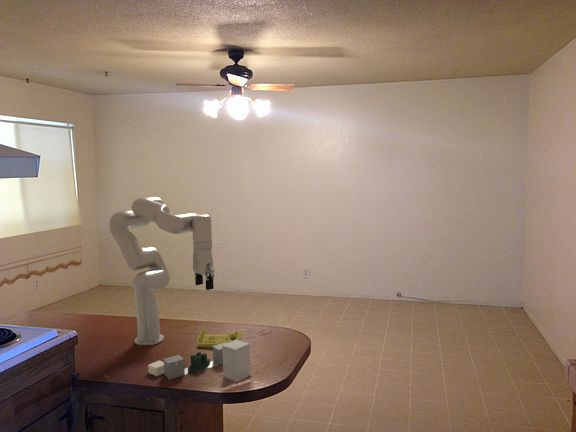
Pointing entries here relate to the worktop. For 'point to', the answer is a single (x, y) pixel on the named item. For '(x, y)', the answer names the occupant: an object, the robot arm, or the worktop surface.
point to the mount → (198, 362)
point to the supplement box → (236, 360)
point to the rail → (204, 368)
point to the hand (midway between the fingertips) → (204, 286)
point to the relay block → (156, 368)
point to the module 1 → (174, 367)
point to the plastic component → (217, 339)
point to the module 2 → (218, 353)
